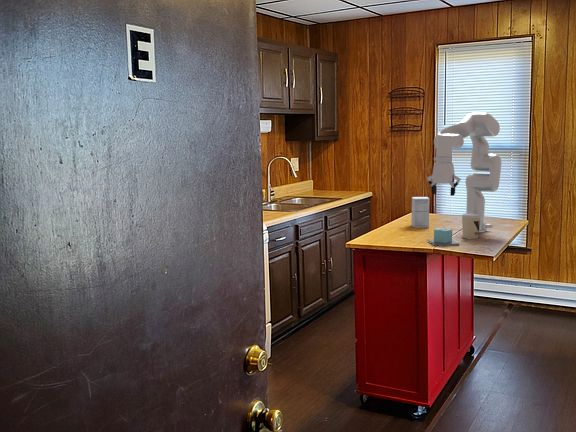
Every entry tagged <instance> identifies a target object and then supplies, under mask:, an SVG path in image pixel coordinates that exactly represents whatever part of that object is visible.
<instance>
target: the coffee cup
mask: <svg viewBox="0 0 576 432" xmlns="http://www.w3.org/2000/svg"><path fill="white" fill-rule="evenodd" d="M480 217H481V216H480V214H473V213H466V212H465V213H462V215H461V223H462V225H461V226H462V238H464V239H471V240H472V239H473V240H474V239H475V240H476V239H478V238H479V234H480V232H479V227H480Z"/></svg>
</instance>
